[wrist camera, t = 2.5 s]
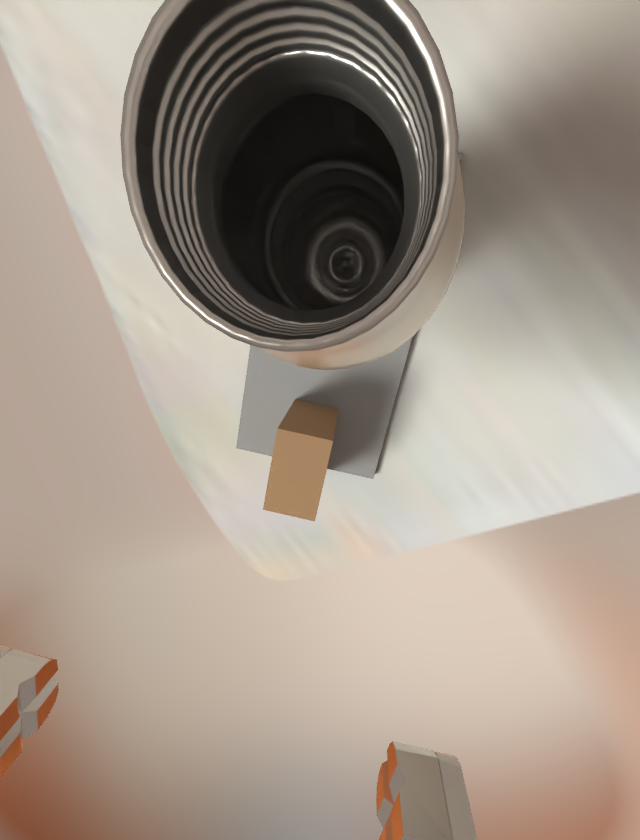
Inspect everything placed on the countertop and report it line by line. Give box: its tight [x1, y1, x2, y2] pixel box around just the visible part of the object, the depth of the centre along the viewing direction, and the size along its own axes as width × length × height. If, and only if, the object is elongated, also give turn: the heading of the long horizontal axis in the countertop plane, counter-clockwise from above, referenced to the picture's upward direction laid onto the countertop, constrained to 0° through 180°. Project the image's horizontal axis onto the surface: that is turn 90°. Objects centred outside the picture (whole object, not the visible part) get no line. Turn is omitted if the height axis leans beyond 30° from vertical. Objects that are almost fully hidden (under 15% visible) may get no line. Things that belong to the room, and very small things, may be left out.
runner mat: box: [236, 153, 463, 521], centre depth 21 cm, size 20×10×6 cm, turn 169°
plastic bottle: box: [121, 0, 465, 370], centre depth 13 cm, size 6×7×20 cm
